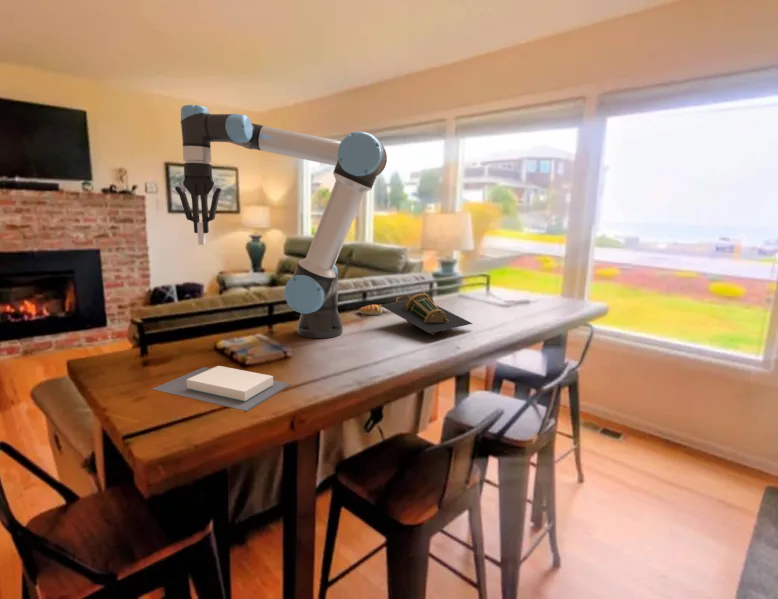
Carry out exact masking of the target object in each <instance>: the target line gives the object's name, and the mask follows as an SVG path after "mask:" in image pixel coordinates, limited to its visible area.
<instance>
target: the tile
mask: <svg viewBox="0 0 778 599" xmlns="http://www.w3.org/2000/svg"><path fill="white" fill-rule="evenodd" d="M273 380H274V375H270V374H264V373H259V372H253V371H248V370H242V369H238V368H233V367H227V366H223V365H217V366H213V367H212V369H210V370H207V371H205V372H203V373H200V374H198V375H196V376H193V377H191V378H189V379H187V388H188V389H189V390H193V391H198V392H202V393H207V394H211V395H216V396H220V397H225V398H229V399H234V400H238V401H243V402H246V401H247V400H249V399H251V398H252V397H254V396H256V395H258V394H259V393H261V392H263V391H265V390H266V389H268V388H270V387H271V386H272V385H273Z"/></svg>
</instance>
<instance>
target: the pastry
mask: <svg viewBox="0 0 778 599" xmlns="http://www.w3.org/2000/svg"><path fill="white" fill-rule="evenodd" d="M380 305H381V304H368V305H365V306H361V307H360V308H359V309H358V312H359V313H360V314H362V315H367V316H368V315H369V316H371V315H372V316H382V315H383V307H382V306H380Z"/></svg>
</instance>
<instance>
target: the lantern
mask: <svg viewBox="0 0 778 599" xmlns="http://www.w3.org/2000/svg"><path fill="white" fill-rule="evenodd" d="M401 298H408V299H407V300H399V299H401ZM379 305H380V306H382V308H384V309H386V310H387V311H390V312H391V313H393V314H394V315H396V316H398V317H399V318H402V319H404V320H405V321H406V322H407V325H411V326H412V327H413V326H414V327H418V328H420V329H421V330H423V331H424V332H426V333H428V334H432V335H433V336H434V335H435V334H436V333H439V332H442V333H444V332H445V330H451V329H456V328H460V327H464V326H468V325H473V322H471V321H469V320H467V319H464V318H462V317H461V316H459V315H457V314H454V313H453V312H450V311H449V310H446V309H444V308H443V307H441V306H439V305H437V304H435V301H434V299H433V298H432V297H431V296H430V295H428V294H427V293H426V291H425V290H424V289H423V290H422V293H418V294H417V293H416V294H414V295H410V294H406V295H400V296H398V297H397V298H396V301H395V302H393V303H386V304H379Z"/></svg>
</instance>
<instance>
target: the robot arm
mask: <svg viewBox="0 0 778 599" xmlns="http://www.w3.org/2000/svg"><path fill="white" fill-rule="evenodd" d="M179 121H180V125H181V126H180V128H181V138H182V160H183V161H184V164H183V174H184V175H183V176H184V179H183V181H182V184H180V185H178V186H175V187H174V188H175V191H176V193H177V194H178V196H179V199H180V202H181V206H182V208H183V211H184V216H185V218H186V220H188V221H191V222H192V223H193V232H194V234H197V243H198V245H199V246H204V245H207V241H206V234H209V231H210V230H209V229H210V228H209V223H210V222H211V221H214V220H215V218H216V213H217V208H218V204H219V203H218V202H219V198H220V195H221V194H222V192H223V188H220V187H218V185H215V182H214V180H213V172H212V171H213V170H212V165H211V164H210V163H211V162H212V150H211V149H212V148H211V142H212V143H230V144H232V145H236V146H240V147H243V148H245V149H248V150H255V151H256V150H257V151H262V152H267V153H271V154H277V155H282V156H286V157H291V158H295V159H300V160H305V161H310V162H313V163H314V162H316V163H320V164H325V165H329V166H334V169H333V172H332V174H333V176H334V178H335V182H334V185H333V187H332V190H331V193H330V195H329V198H328V199H327V202H326V205H325V207H324V210H323V212H322V215H321V218H320V220H319V223H318V225H317V229H316V231H315V233H314V236H313V238H312V240H311V244H310V246H309V249H308V251H307V254H306V257H305V258H302V259H301V260H299V261H298V263H297V265H296V268H295V271H294V273H293V275H292V276H291V277H290V279H288V280H287V283H285V286H284V289H283V290H284V291H283V292H284V293H283V294H284V299H285V302H286V303H287V305H288V306H289V307H290V308H291V309H292V310H294V311H295V312H296V313H300V316H299V320H298V323H297V325H296V334H297V335H299V336H300V337H303V338H304V337H305V338H311V339H330V338H333V337H335V338H336V337H337V336H340V335H342V334H343V332H344V330H343V329H344V328H343V326H344V325H343V322H342V319H341V316H340V312H339V311H338V306H339V305H338V302H339V301H338V299H339V298H338V297H339V296H338V290H339V288H338V284H339V283H338V282H339V278H338V277H339V271H338V270H339V269H338V267H337V266H336V262H337V260H338V258H339V256H340V253H341V250H342V249H343V245H344V243H345V241H346V238H347V237H348V233H349V231H350V228H351V226H352V224H353V221H354V218H355V216H356V214H357V211H358V209H359V206H360V204H361V202H362V200H363V196H364V194H365V193H366V192H370V191H372V188H373V185H374V183H375V182H376V179H377V177H378V176H379V175H381V173H382V172H384V169H385V168H386V166H387V161H388V158H387V157H388V156H387V152H386V149H385V147H384V146H383V144H382V142H380V140H379V139H378V138H377V137H376V136H375V135H373V134H371V133H369V132H366V131H363V130H362V131H358V130H357V131H354V132H350V133H349V134H347V135H346V136H345V137H344V138H343V139H342V140H339V139H333V138H328V137H321V136H317V135H311V134H307V133H303V132H298V131H293V130H287V129H284V128H283V129H282V128H277V127H272V126H267V125H263V124H257V123H253V122H251V120H250V118H249V116H248V115H245V114H238V113H210V111H209V109H208V108H207V107H206V106H202V105H200V104H199V105H197V104H196V105H195V104H186V105H185V104H184V105H182V107H181V108H180V120H179ZM186 191H187V192H189V194H190V197H191V206H192V208H191V206H190V203H189V200H188V197H187V194H186ZM211 191H212V193H213V195H212V198H211V203H210V209H208V208H209V204H208V198H209V197H208V195H209V194H210V192H211ZM199 197H200V204H201V205H200V206H201V219H200V206H199ZM191 209H192V210H191ZM200 221H201V222H200Z"/></svg>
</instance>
